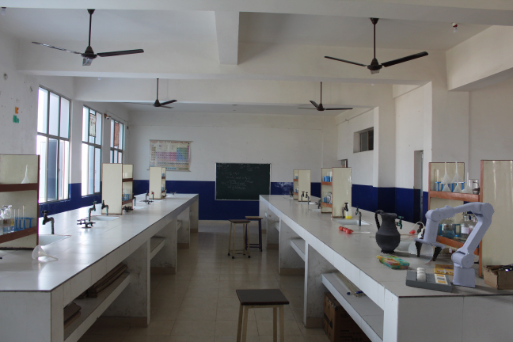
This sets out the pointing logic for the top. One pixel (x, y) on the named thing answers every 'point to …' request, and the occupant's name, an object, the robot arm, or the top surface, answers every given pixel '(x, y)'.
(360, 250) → the top surface
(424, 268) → the button
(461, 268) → the robot arm
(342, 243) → the top surface
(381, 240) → the pitcher
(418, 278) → the button
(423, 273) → the button middle
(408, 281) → the board
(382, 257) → the puzzle game
